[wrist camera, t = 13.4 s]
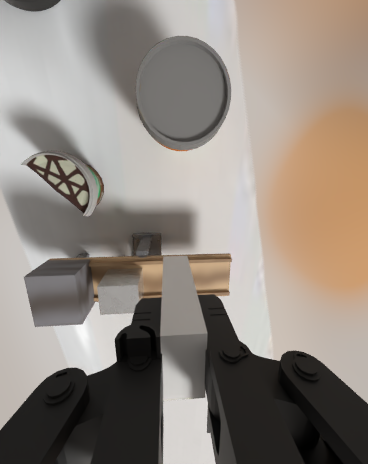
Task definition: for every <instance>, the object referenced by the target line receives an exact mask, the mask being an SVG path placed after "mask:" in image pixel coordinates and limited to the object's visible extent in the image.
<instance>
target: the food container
mask: <svg viewBox="0 0 368 464" xmlns="http://www.w3.org/2000/svg"><path fill="white" fill-rule="evenodd" d="M21 165H26V166H28V167H29V168H30V169H32V170H33V171H34V172H36V173H37V174H38V175H39V176H40V177H42V178H43V179H44V180H45V181H46V182H47V183H48V184H49V185H50V186H51V187H52V188H54V189H55V190H56V191H57V192H58V193H60V194H61V195H62V196H64V197H65V198H66V199H67V200H69V201H70V202H71V203H72V204H74V205H75V206H76V207H77V208H78V209H79V210H81V211H82V212H83V213H84V214H83V215H82V216H84V215H85V216H90V215H91V214H92V213H93V211H94V209H95V207H96V205H98V204H99V202H100V201H101V199H102V196H103V193H104V185H103V182H102V178H101V177H100V175H99V174H98V172H97V171H96V170H94V169H93V168H92V167H90V166H88V165H86V164H84V163H83V162H82V161H80V160H79V159H78V158H76V157H74V156H72V155H70V154H67V153H64V152H60V151H47V152H41V153H37V154H35V155H32V156H30V157H29V158H28V159H26V160H25V161H24V162H23V163H22V164H21Z"/></svg>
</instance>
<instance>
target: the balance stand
mask: <svg viewBox="0 0 368 464" xmlns="http://www.w3.org/2000/svg"><path fill="white" fill-rule="evenodd" d="M133 248H134V256H141V255H147V256H160V255H161V233H139V234H133ZM76 258H89V254H79V255H78V256H77V257H76Z"/></svg>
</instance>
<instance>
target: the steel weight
mask: <svg viewBox="0 0 368 464" xmlns="http://www.w3.org/2000/svg"><path fill="white" fill-rule="evenodd" d="M97 291H98V299H99V307H100V315H103V314H123V313H134V311H135V306H136V304H137V303H138V302H139V301H140V300H141V299H142V298H143V294H144V285H143V268H134V269H108V271H107V272H106V274H105V275H104V277H103V278H102V280H101V281H100V283H99V285H98V286H97Z"/></svg>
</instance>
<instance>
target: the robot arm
mask: <svg viewBox="0 0 368 464" xmlns="http://www.w3.org/2000/svg"><path fill="white" fill-rule="evenodd" d="M4 1H6V2H7V3H9V4H11V5H13V6H15V7H17V8H19V9H23V10H27V11H42V10H46V9H48V8H51V7H52V6H54V5H56V4H57V3H58V2H59V1H60V0H4ZM115 347H116V356H117V362H116V363H115V364H113V365H112V366H110V367H109V368H107V369H104V370H102V371H100V372H97V373H94V374H91V375H88V376H87V375H86V374H85V372H84V371H83V370H81V369H78V368H66V369H63V370H60V371H57V372H56V373H54V374H52V375H51V376H49V377H47V378H46V379H45V380H44V381H43V382H42V383H41V384H40V385H39V386H38V387H37V388H36V389H35V390H34V391H33V393H32V394H31V395H30V396H29V397H28V398H27V400H26V401H25V402H24V403H23V404H22V405H21V407H20V408H19V409H18V410H17V411H16V413H15V414H14V415H13V416H12V417H11V418H10V420H9V421H8V422H7V423H6V424H5V425H4V427H3V428H2V429H1V430H0V464H163V401H172V400H183V399H194V398H205V389H206V394H207V400H208V416H207V433H210V432H211V438H212V444H213V450H214V456H215V462H216V464H368V404H367V403H366V402H365V401H364V400H363V399H362V398H361V397H359V396H358V395H357V394H356V393H355V392H354V391H353V390H352V389H351V388H350V387H348V386H347V385H346V384H345V383H344V382H343V381H342V380H341V379H339V378H338V377H337V376H336V375H335V374H334V373H333V372H332V371H330V370H329V369H328V368H327V367H326V366H325V365H324V364H323V363H321V362H320V361H319V360H317V359H316V358H315V357H313V356H311V355H309V354H306V353H304V352H299V351H288V352H286V353H284V354H283V355H282V357H281V360H280V361H277V360H272V359H267V358H263V357H260V356H257V355H255V354H253V353H251V351H250V350H249V348H248V347H247V346H246V345H245V344H243V343H242V342H241V341H239V340H238V337H237V335H236V333H235V331H234V328H233V326H232V324H231V321H230V319H229V317H228V315H227V312H226V310H225V309H224V306H223V303H222V301H221V300H220V299H219V298H218V297H217V296H216V295H215V294H207V295H197V291H196V287H195V283H194V280H193V276H192V272H191V268H190V264H189V260H188V257H187V256H163V277H162V297H159V298H142V299H141V300H140V301H139V302H138V303H137V304H136V306H135V311H134V315H133V319H132V323H131V325H129V326H127V327H125V328H124V329H123V330H121V331H120V332H119V333H118V335H117V336H116V338H115Z"/></svg>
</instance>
